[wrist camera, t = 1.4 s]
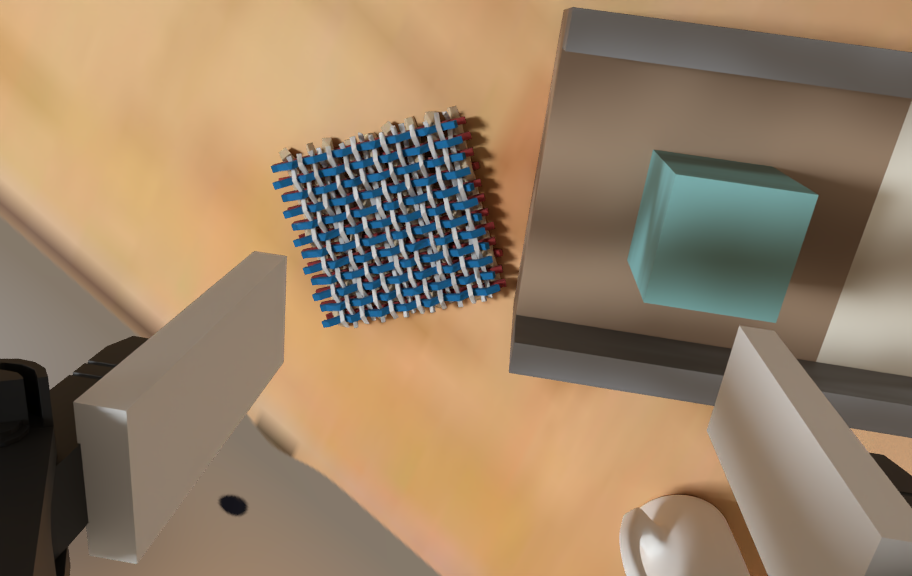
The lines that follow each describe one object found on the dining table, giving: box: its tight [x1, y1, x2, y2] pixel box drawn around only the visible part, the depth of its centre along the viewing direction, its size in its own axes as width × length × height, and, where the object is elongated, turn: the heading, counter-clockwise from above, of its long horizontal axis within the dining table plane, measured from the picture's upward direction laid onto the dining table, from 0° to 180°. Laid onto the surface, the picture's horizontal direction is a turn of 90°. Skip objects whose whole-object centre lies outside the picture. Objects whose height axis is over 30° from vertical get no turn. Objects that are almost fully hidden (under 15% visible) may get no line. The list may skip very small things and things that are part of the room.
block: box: [627, 150, 819, 323], centre depth 27 cm, size 5×5×5 cm
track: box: [509, 7, 912, 438], centre depth 30 cm, size 15×32×8 cm, turn 83°
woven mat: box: [271, 106, 507, 328], centre depth 36 cm, size 10×11×2 cm
